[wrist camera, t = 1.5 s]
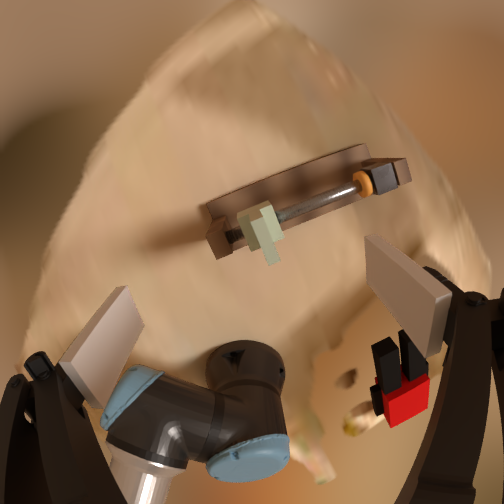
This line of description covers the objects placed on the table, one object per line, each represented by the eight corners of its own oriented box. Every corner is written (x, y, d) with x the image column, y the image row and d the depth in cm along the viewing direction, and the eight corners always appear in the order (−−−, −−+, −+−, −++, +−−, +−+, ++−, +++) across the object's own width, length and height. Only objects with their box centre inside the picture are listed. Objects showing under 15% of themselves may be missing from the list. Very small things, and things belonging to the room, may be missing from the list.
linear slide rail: (228, 250, 43) (225, 278, 32) (207, 202, 41) (196, 215, 30) (377, 190, 41) (416, 199, 30) (362, 143, 39) (399, 138, 28)
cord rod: (226, 249, 34) (224, 257, 31) (215, 226, 33) (213, 232, 30) (394, 182, 33) (407, 184, 30) (387, 159, 32) (400, 159, 29)
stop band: (357, 196, 33) (368, 199, 30) (350, 172, 32) (360, 173, 29) (364, 193, 33) (375, 196, 30) (356, 170, 32) (367, 171, 29)
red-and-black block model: (439, 333, 41) (434, 404, 48) (417, 313, 49) (420, 384, 56) (373, 369, 42) (383, 432, 49) (357, 344, 50) (371, 409, 57)
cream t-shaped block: (250, 243, 35) (254, 271, 26) (236, 211, 33) (235, 228, 24) (280, 231, 34) (295, 255, 25) (267, 198, 33) (278, 210, 24)
